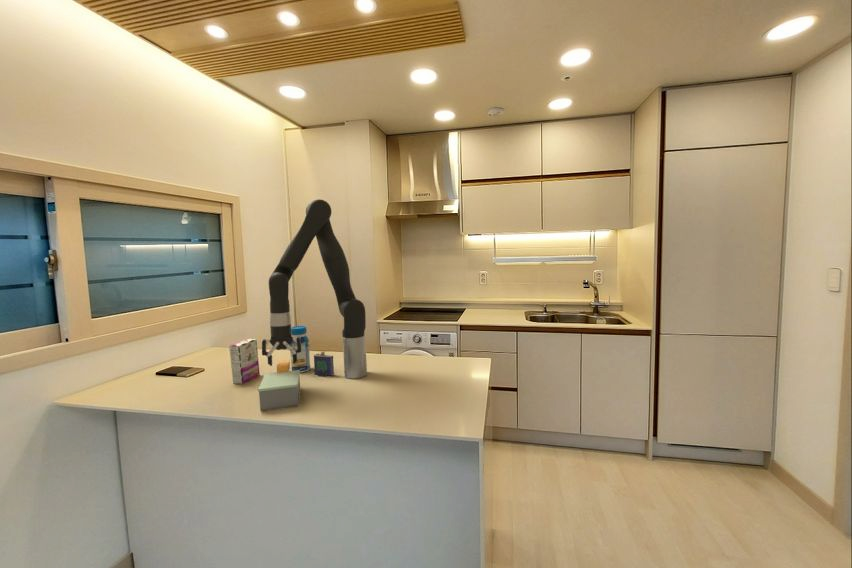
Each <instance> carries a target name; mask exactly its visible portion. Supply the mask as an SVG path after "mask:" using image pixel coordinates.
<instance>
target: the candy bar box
mask: <svg viewBox="0 0 852 568" xmlns="http://www.w3.org/2000/svg"><path fill="white" fill-rule="evenodd" d="M258 352H259V351H258V342H257V338H247V339H243V340H241V341H238V342H236V343H233V344H230V345H229V355H230V357H229V358H230V365H231V375H232V384H234V385H244V384H246V383H247V382H249V381H251V380H252V379H254V378H257V377H258V376H260V374H261V373H260V364H259V363H260V362H259V354H258ZM245 382H246V383H245Z"/></svg>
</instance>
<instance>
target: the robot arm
mask: <svg viewBox="0 0 852 568" xmlns="http://www.w3.org/2000/svg"><path fill="white" fill-rule="evenodd" d="M305 208H306V209H305V217H304V220H303V222H302V224H301V226H300V228H299V229H298V231H297V233H296V234H295V236H294V237H293V239H292V240H291V241H290V242H289V244H288V245H287V247H286V248H285V250H284V252H283V254H282V256H281V257H280V260H279V263H278V264H277V266H276V267H275V269H274V271H273V272H272V273H271V275H270V276H269V277H268V278H269V279H268V290H269V299H270V300H269V313H270V317H269V325H270V329H269V330H270V339H266V338H263V340H262V341H261V355H262V356H266V357H267V365H269V366H270V367H271V366H273V355H272V354H273V353H274V351H275V350H277V351H281V350H287V349H288V350H289V351H291V352H292V353H293V364H294V363H295V362H296V361H297V353H299V352H301V341H300V337H299V336H298V337H295V338H293V337H292V334H291V327H292V320H291V319H292V317H291V310H290V300H289V291H290V289H289V282H290V280H291V278H292V277H293V275H294V272H295V271H297V269H298V267H299V266H300V264H301V262H302V260H303V259H304V257H305V255H306V254H307V251H308V249H309V248H310V245H311V244H312V242H313V241H314V238H316V242H317V246H318V250H319V253H320V256H321V259H322V262H323V266H324V268H325V272H326V273H327V277H328V278H329V282H330V284H331V286H332V288H333V289H334V294H335V297H336V302H337V306H338V310H339V313H340V315H341V316H342V317H343V329H342V331H341V334H342V336H341V337H342V353H343V370H344V371H343V372H344V377H345V378H346V379H353V380H355V379H360V378H363V377H367V376H368V367H367V366H368V365H367V353H366V340H365V339H366V337H365V332H366V326H367V325H366V322H367V321H366V308H365V305H364V303H363V302H362V301H360V299H357V298H356V295H355V293H354V291H353V288H352V285H351V278H350V277H351V276H350V275H351V274H350V269H349V268H350V267H349V264H348V263H349V262H348V260H347V257H346V255H345V254H346V253H345V252H344V249H343V248H342V246H341V244H340V242H339V240H338V238H337V236H336V235H335V233H334V230H333V227H332V224H331V223H332V222H331V217H332V207H331V205H330V204H329V203H328V201H326V200H324V199H315V200H312V201H311V202H309V203H308V205H307V206H306V207H305ZM292 341H295V343H297V348H298V349H295V348H294V347H293V346H292V345H291V343H292ZM269 343H270V345H272V346H271V348H270V349H269V351H267V346H268V345H269Z"/></svg>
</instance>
